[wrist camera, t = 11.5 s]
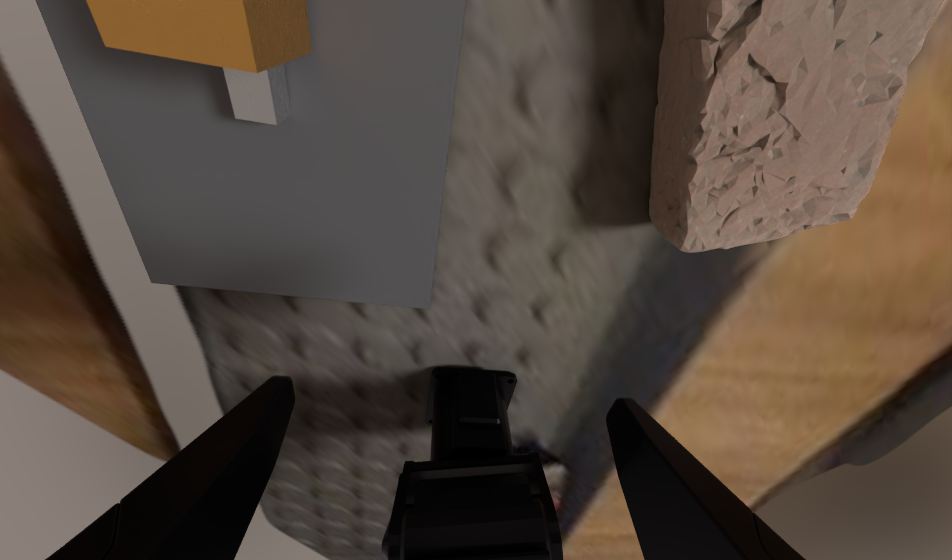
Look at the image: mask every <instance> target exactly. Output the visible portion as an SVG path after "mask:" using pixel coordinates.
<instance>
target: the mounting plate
mask: <svg viewBox="0 0 952 560" xmlns="http://www.w3.org/2000/svg"><path fill="white" fill-rule="evenodd" d="M306 1H307V11H308V20H309V29H310V39H311V48H312V53H310V54H307V55H305V56H302V57H299V58H297V59H294V60H291V61H289V62H286V63H283V64H284V71H285V77H286V84H287V90H288V97H289V104H290V110H291V116H289V117H288V118H286V119H285V120H283V121H282V122H281V123H279V124H278V125H273V124H267V123H261V122H254V121H248V120H242V119H235V115H234V111H233V107H232V103H231V99H230V95H229V91H228V87H227V83H226V79H225V75H224V71H223V67H218V66H213V65H207V64H201V63H196V62H190V61H184V60H179V59H173V58H167V57H162V56H156V55H150V54H145V53H139V52H133V51H128V50H122V49H116V48H111V47H105V44H104V42H103V40H102V37H101V35H100V32H99V30H98V28H97V25H96V23H95V20H94V18H93V16H92V13H91V11H90V8H89V6H88V4H87V1H86V0H36V2H37V5H38V7H39V10H40V12H41V14H42V17H43V19H44V21H45V24H46V27H47V29H48V32H49V34H50V36H51V39H52V41H53V44H54V46H55V49H56V51H57V54H58V56H59V58H60V61H61V63H62V65H63V68H64V71H65V73H66V76H67V78H68V80H69V83H70V85H71V88H72V90H73V93H74V95H75V97H76V100H77V102H78V105H79V107H80V109H81V112H82V115H83V117H84V119H85V122H86V124H87V127H88V129H89V132H90V134H91V136H92V139H93V141H94V144H95V146H96V149H97V151H98V154H99V156H100V158H101V161H102V163H103V166H104V168H105V170H106V173H107V175H108V178H109V180H110V183H111V185H112V187H113V190H114V192H115V195H116V197H117V200H118V202H119V205H120V207H121V209H122V212H123V214H124V217H125V219H126V222H127V224H128V226H129V229H130V231H131V234H132V236H133V239H134V241H135V244H136V246H137V248H138V251H139V253H140V256H141V258H142V261H143V263H144V266H145V268H146V270H147V273H148V275H149V278H150V280H151V282H152V283H160V284H169V285H180V286H190V287H201V288H212V289H222V290H233V291H243V292H254V293H265V294H275V295H286V296H296V297H307V298H318V299H328V300H339V301H349V302H360V303H371V304H381V305H392V306H402V307H413V308H424V309H430V301H431V292H432V284H433V275H434V267H435V258H436V250H437V241H438V233H439V224H440V216H441V207H442V199H443V190H444V182H445V173H446V165H447V156H448V148H449V139H450V131H451V122H452V114H453V106H454V97H455V89H456V80H457V72H458V63H459V55H460V46H461V38H462V29H463V21H464V12H465V4H466V0H306Z"/></svg>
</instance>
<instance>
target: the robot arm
mask: <svg viewBox="0 0 952 560" xmlns="http://www.w3.org/2000/svg"><path fill="white" fill-rule="evenodd" d="M437 374H440V375H437ZM509 379H510V380H509ZM516 383H517V378H516V375H515V374H514V373H505V372H491V371H477V370H463V369H449V368H436V369H434V370H433V371H432V377H431V384H430V391H429V398H428V405H427V412H426V424H428V425H432V440H431V459H430V461H423V462H414V461H405V464H404V468H403V473H402V474H400V477H399V480H398V487H397V492H396V496H395V501H394V506H393V510H392V515H391V518H390V521H389V524H388V527H387V529H386V532H385V535H384V538H383V541H382V553H383V555H384V556H385V557H386V559H387V560H563V551H562V542H561V535H560V529H559V524H558V519H557V515H556V511H555V507H554V503H553V500H552V497H551V494H550V490H549V487H548V484H547V481H546V477H545V474H544V471H543V467H542V464H541V461H540V458H539V454H538V452H529V454H517V455H514V454H513V447H512V441H511V434H510V428H509V421H508V415H507V409H508V406H509V403H510V401H511V398H512V395H513V392H514V389H515V386H516ZM294 403H295V394H294V388H293V383H292V379H291V377H289V376H273V377H271V378H269V379H268V380H267V381H266V382H265V383H263V384H262V385H261V386H260V387H258V388H257V389H256V390H255V391H253V392H252V393H251V394H250V395H249V396H247V397H246V398H245V399H244V400H242V401H241V402H240V403H239V404H238V405H236V406H235V407H234V408H233V409H231V410H230V411H229V412H228V413H227V414H225V415H224V416H223V417H222V418H220V419H219V420H218V421H217V422H216V423H214V424H213V425H212V426H211V427H209V428H208V429H207V430H206V431H205V432H203V433H202V434H201V435H200V436H198V437H197V438H196V439H195V440H194V441H192V442H191V443H190V444H189V445H187V446H186V447H185V448H184V449H182V450H181V451H180V452H179V453H178V454H176V455H175V456H174V457H173V458H171V459H170V460H169V461H168V462H167V463H165V464H164V465H163V466H162V467H160V468H159V469H158V470H157V471H156V472H155V473H153V474H152V475H151V476H150V477H148V478H147V479H146V480H145V481H143V482H142V483H141V484H140V485H138V486H137V487H136V488H135V489H134V490H132V491H131V492H130V493H129V494H128V495H126V496H125V497H124V498H123V499H121V501H120V504H119V503H117V504H115V505H114V506H113V507H111V508H110V509H109V510H108V511H106V512H105V513H104V514H103V515H102V516H100V517H99V518H98V519H97V520H95V521H94V522H93V523H92V524H90V525H89V526H88V527H87V528H85V529H84V530H83V531H82V532H80V533H79V534H78V535H76V536H75V537H74V538H73V539H71V540H70V541H69V542H68V543H66V544H65V545H64V546H63V547H61V548H60V549H59V550H57V551H56V552H55V553H53V554H52V555H51V556H49V557H48V558H47V559H45V560H234V558H235V556H236V554H237V552H238V549H239V547H240V545H241V542H242V540H243V538H244V536H245V533H246V531H247V528H248V526H249V524H250V522H251V520H252V517H253V515H254V513H255V510H256V508H257V506H258V504H259V501H260V499H261V497H262V494H263V492H264V490H265V488H266V485H267V483H268V481H269V478H270V476H271V474H272V471H273V469H274V466H275V464H276V461H277V458H278V455H279V451H280V448H281V445H282V442H283V439H284V436H285V432H286V429H287V426H288V423H289V420H290V417H291V413H292V410H293V407H294ZM606 423H607V428H608V432H609V437H610V442H611V446H612V451H613V456H614V460H615V465H616V469H617V473H618V477H619V480H620V484H621V487H622V490H623V493H624V496H625V499H626V503H627V506H628V509H629V512H630V515H631V518H632V521H633V525H634V528H635V531H636V534H637V537H638V540H639V543H640V547H641V550H642V553H643V556H644V559H645V560H805V559H804V558H803V557H802V556H801V555H800V554H799V553H798V552H796V551H795V550H794V549H793V548H792V547H791V546H790V545H789V544H787V543H786V542H785V541H784V540H783V539H782V538H781V537H780V536H779V535H777V533H775V532H774V531H773V530H772V529H771V528H770V527H769V526H768V525H767V524H766V523H765V522H763V521H762V520H761V519H760V518H759V517H758V516H757V515H756V514H755V513H752V511H751V509H750V508H748V507H747V506H746V505H745V504H744V503H743V502H742V501H741V500H740V499H739V498H738V497H737V496H736V495H735V494H733V493H732V492H731V491H730V490H729V489H728V488H727V487H726V486H725V485H724V484H723V483H722V482H721V481H720V480H719V479H717V478H716V477H715V476H714V475H713V474H712V473H711V472H710V471H709V470H708V469H707V468H706V467H705V466H704V465H703V464H701V463H700V462H699V461H698V460H697V459H696V458H695V457H694V456H693V455H692V454H691V453H690V452H689V451H688V450H687V449H685V448H684V447H683V446H682V445H681V444H680V443H679V442H678V441H677V440H676V439H675V438H674V437H673V436H672V435H671V434H669V433H668V432H667V431H666V430H665V429H664V428H663V427H662V426H661V425H660V424H659V423H658V422H657V421H656V420H655V419H653V418H652V417H651V416H650V415H649V414H648V413H647V412H646V411H645V410H644V409H643V408H642V407H641V406H640V405H638V404H637V403H636V402H635V401H634V400H633V399H631V398H617V399H616V400H615V402H614V403H613V405H612V407H611V408H610V410H609V412H608V413H607V417H606Z"/></svg>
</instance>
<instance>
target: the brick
mask: <svg viewBox="0 0 952 560" xmlns="http://www.w3.org/2000/svg"><path fill="white" fill-rule="evenodd" d="M943 1H944V0H664V12H665V14H664V29H665V33H664V38H663V44H662V47H661V51H660V55H659V78H658V86H657V95H658V105H657V106H656V109H655V121H654V133H653V134H654V139H653V146H652V162H651V194H650V199H649V215H650V218H651V221H652V223H653V225H654V227H655V228H656V229H657V230H658V232H661V233H662V234H663V236H664V237H665V239H666V241H669V242H671V243H672V245H674V246H675V247H677V248H678V249H679V250H681V251H684V252H692V253H693V252H701V251H706V250H711V249H716V248H722V249H729V248H732V247H736V246H741V245H746V244H751V243H757V242H763V241H769V240H774V239H778V238H781V237H784V236H787V235H790V234H793V233H796V232H799V231H803V230H806V229H810V228H814V227H818V226H824V225H830V224H835V223H840V222H843V221H847V220H850V219H852V217H853V216H854V215H855V213H856V211H857V208H858V205H859V202H860V201H862V200H863V199H864V198H865V196H866V195H867V194H868V192H869V190H870V188H871V186H872V183H873V181H874V178H875V175H876V173H877V170H878V167H879V165H880V162H881V160H882V157H883V155H884V152H885V149H886V146H887V143H888V140H889V136H890V132H891V128H892V126H893V124H894V122H895V120H896V117H897V115H898V105H899V103H900V101H901V99H902V97H903V95H904V91H905V87H906V84H907V66H908V65H909V64H910V63H911V61H912V60H913V59H914V57H915V56H916V55H917V54H918V52H919V51H920V50H921V49H922V46H923V43H924V40H925V37H926V34H927V33H928V31H929V29H930V27H931V25H932V23H933V21H934V19H935V17H936V15H937V13H938V11H939V9H940V7H941V5H942V3H943Z"/></svg>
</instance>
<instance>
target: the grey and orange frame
mask: <svg viewBox="0 0 952 560" xmlns="http://www.w3.org/2000/svg"><path fill="white" fill-rule="evenodd" d="M86 1H87V4H88V6H89V8H90V11H91V13H92V16H93V18H94V20H95V23H96V25H97V28H98V30H99V32H100V35H101V37H102V40H103V42H104V44H105V47H111V48H116V49H122V50H128V51H133V52H139V53H145V54H150V55H156V56H162V57H167V58H173V59H179V60H184V61H190V62H196V63H201V64H207V65H213V66H218V67H223V71H224V75H225V79H226V83H227V87H228V91H229V95H230V99H231V103H232V107H233V111H234V115H235V119H242V120H248V121H254V122H261V123H267V124H273V125H278V124H279V123H281V122H282V121H283V120H285V119H286V118H288V117H289V116H291V110H290V104H289V97H288V90H287V84H286V77H285V71H284V64H283V63H286V62H289V61H291V60H294V59H297V58H299V57H302V56H305V55H307V54H310V53H312V48H311V39H310V29H309V20H308V11H307V1H306V0H86Z"/></svg>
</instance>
